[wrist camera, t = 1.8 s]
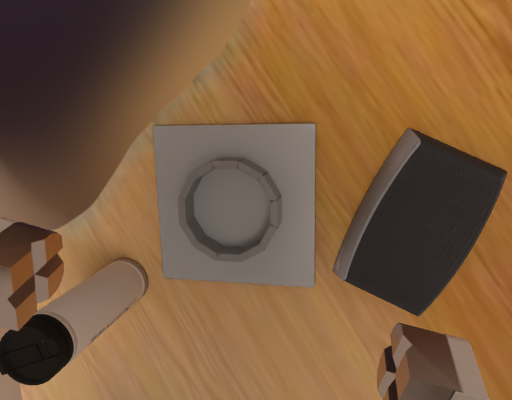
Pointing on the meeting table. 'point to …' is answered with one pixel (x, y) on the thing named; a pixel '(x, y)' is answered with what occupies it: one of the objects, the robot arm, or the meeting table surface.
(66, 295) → the travel mug
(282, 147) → the mug holder
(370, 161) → the meeting table surface
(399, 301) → the external hard drive
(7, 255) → the robot arm
